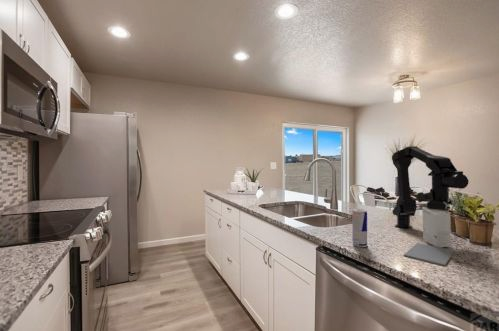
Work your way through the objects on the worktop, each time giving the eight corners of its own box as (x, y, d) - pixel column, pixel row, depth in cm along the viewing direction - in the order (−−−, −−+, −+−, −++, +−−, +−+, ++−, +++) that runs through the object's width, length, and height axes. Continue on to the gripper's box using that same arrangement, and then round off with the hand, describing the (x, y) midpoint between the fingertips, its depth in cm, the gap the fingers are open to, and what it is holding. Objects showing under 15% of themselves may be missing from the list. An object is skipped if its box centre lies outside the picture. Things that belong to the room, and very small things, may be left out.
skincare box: (423, 239, 105) (420, 207, 103) (437, 236, 105) (434, 204, 103) (438, 248, 97) (435, 214, 95) (453, 246, 97) (450, 211, 95)
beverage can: (366, 248, 98) (366, 211, 97) (351, 246, 101) (351, 210, 100) (368, 244, 102) (367, 209, 102) (353, 242, 105) (353, 208, 105)
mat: (417, 244, 102) (417, 242, 102) (454, 252, 93) (454, 250, 93) (403, 256, 90) (403, 254, 90) (444, 266, 81) (444, 264, 81)
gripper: (422, 184, 116) (423, 217, 116) (412, 187, 104) (412, 223, 104) (453, 185, 108) (453, 220, 108) (445, 188, 96) (445, 228, 96)
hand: (440, 223), depth 104 cm, fingers closed, pressing on skincare box
